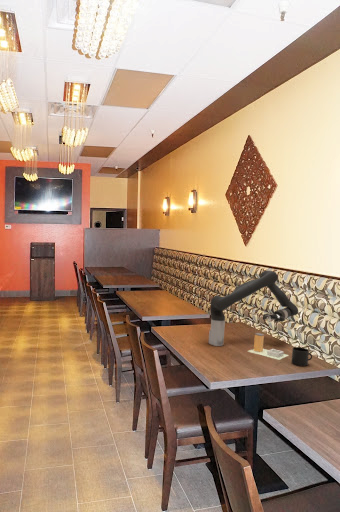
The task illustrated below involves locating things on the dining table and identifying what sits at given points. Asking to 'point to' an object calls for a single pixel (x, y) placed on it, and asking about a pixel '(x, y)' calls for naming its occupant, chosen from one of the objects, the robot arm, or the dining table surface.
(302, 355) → the mug
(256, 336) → the orange cylinder
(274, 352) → the pale green base plate
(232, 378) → the dining table surface
